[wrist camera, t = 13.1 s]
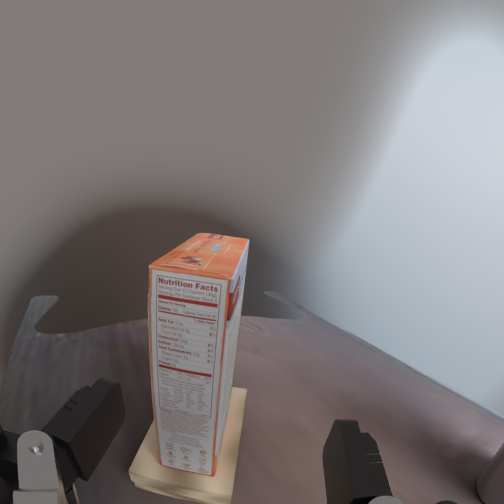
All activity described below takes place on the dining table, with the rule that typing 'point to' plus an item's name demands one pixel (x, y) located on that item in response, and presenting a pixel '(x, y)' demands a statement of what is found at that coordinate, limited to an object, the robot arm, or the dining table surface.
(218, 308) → the cracker box
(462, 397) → the dining table surface
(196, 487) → the birch stand
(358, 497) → the robot arm
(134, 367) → the dining table surface
